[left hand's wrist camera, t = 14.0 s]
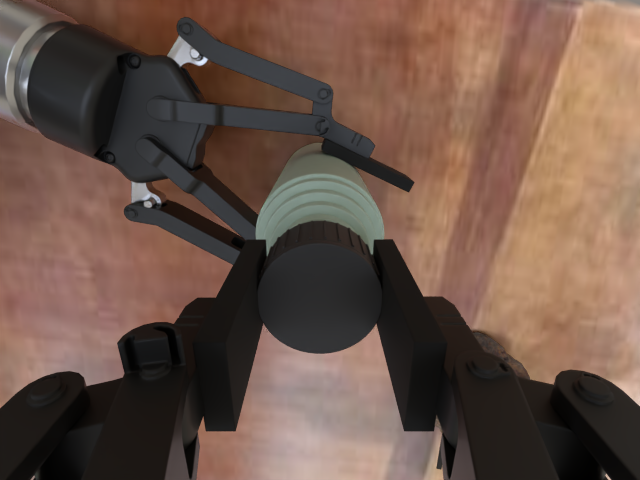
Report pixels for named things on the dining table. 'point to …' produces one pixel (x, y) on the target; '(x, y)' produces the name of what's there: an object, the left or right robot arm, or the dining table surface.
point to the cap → (319, 288)
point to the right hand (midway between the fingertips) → (381, 227)
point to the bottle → (319, 198)
